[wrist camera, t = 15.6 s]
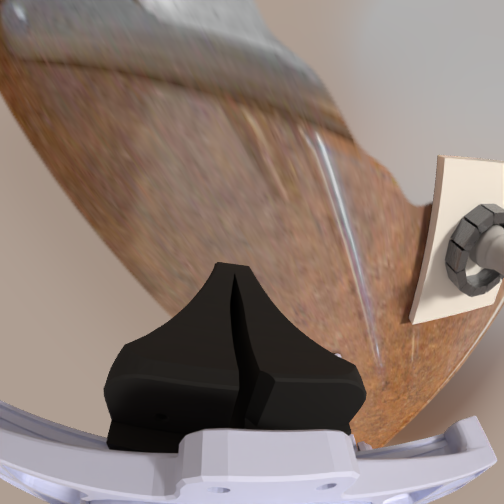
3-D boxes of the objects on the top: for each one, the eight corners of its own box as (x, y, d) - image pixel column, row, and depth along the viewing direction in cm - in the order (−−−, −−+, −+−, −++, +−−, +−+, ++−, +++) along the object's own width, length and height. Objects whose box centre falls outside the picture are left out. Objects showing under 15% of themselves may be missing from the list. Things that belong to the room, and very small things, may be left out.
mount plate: (488, 298, 27) (493, 303, 27) (408, 318, 27) (412, 324, 26) (522, 163, 20) (528, 166, 19) (437, 155, 20) (444, 157, 19)
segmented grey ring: (493, 278, 25) (504, 288, 23) (436, 290, 25) (447, 302, 23) (513, 203, 21) (526, 211, 19) (455, 204, 21) (470, 214, 19)
